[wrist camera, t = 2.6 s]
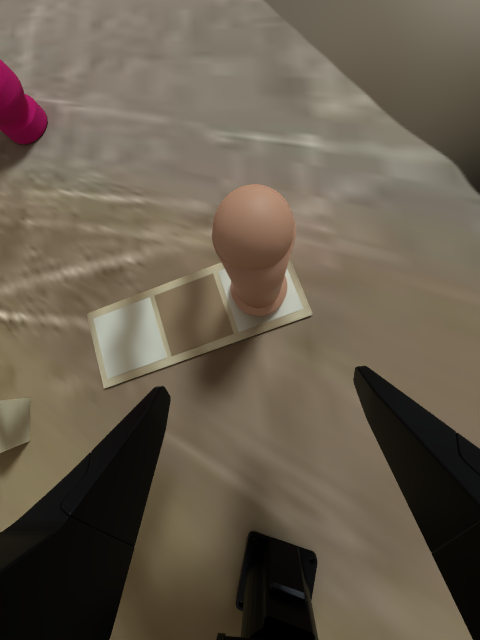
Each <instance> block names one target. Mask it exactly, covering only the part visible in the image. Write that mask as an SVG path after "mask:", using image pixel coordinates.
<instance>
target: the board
mask: <svg viewBox="0 0 480 640" xmlns="http://www.w3.org/2000/svg"><path fill="white" fill-rule="evenodd" d="M285 277H286V280H287V293H286V296H285V299H284V301H283V303H282V304H281V306H280V307H279V308H278V309H277V310H276V311H274V312H273V313H271V314H269V315H265V316H252V315H249V314H246V313H245V312H243V311H242V310H240V309H239V308H238V306H237V305H236V304H235V302H234V300H233V298H232V296H231V290H230V285H231V280H230V278H229V276H228V274H227V272H226V270H225V268H224V266H223V264H222V262H221V263H219V264H216V265H213V266H211V267H208V268H205V269H203V270H200V271H198V272H195V273H192V274H190V275H187V276H185V277H182V278H179V279H177V280H174V281H171V282H169V283H166V284H164V285H161V286H158V287H156V288H153V289H150V290H148V291H145V292H143V293H140V294H137V295H135V296H132V297H130V298H127V299H124V300H122V301H119V302H116V303H114V304H111V305H109V306H106V307H103V308H101V309H98V310H96V311H93V312H90V313H88V314H87V317H88V321H89V325H90V330H91V334H92V338H93V343H94V347H95V351H96V356H97V360H98V364H99V369H100V373H101V377H102V382H103V386H104V389H105V388H108V387H111V386H113V385H116V384H119V383H122V382H125V381H127V380H130V379H133V378H136V377H139V376H142V375H144V374H147V373H150V372H153V371H156V370H158V369H161V368H164V367H167V366H170V365H173V364H175V363H178V362H181V361H184V360H187V359H189V358H192V357H195V356H198V355H201V354H204V353H206V352H209V351H212V350H215V349H218V348H220V347H223V346H226V345H229V344H232V343H235V342H237V341H240V340H243V339H246V338H249V337H251V336H254V335H257V334H260V333H263V332H265V331H268V330H271V329H274V328H277V327H280V326H282V325H285V324H288V323H291V322H294V321H296V320H299V319H302V318H305V317H308V316H311V315H313V314H312V311H311V309H310V306H309V304H308V302H307V299H306V297H305V294H304V292H303V289H302V287H301V285H300V282H299V280H298V277H297V275H296V272H295V270H294V267H293V265H292V263H291V260H290V259H289V262H288V265H287V269H286V272H285Z"/></svg>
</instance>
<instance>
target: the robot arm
mask: <svg viewBox="0 0 480 640" xmlns="http://www.w3.org/2000/svg"><path fill="white" fill-rule="evenodd" d="M353 381H354V385H355V388H356V391H357V394H358V396H359V399H360V402H361V405H362V408H363V410H364V413H365V416H366V418H367V421H368V423H369V425H370V427H371V429H372V431H373V433H374V435H375V437H376V439H377V442H378V444H379V446H380V448H381V450H382V452H383V454H384V456H385V458H386V460H387V462H388V464H389V466H390V468H391V471H392V473H393V475H394V477H395V479H396V481H397V483H398V485H399V487H400V489H401V491H402V493H403V495H404V497H405V499H406V502H407V504H408V506H409V508H410V510H411V512H412V514H413V516H414V518H415V520H416V522H417V524H418V526H419V528H420V531H421V533H422V535H423V537H424V539H425V541H426V543H427V545H428V547H429V549H430V551H431V552H432V556H433V558H434V560H435V562H436V564H437V566H438V568H439V570H440V572H441V574H442V576H443V578H444V581H445V583H446V585H447V587H448V589H449V591H450V593H451V595H452V597H453V599H454V601H455V603H456V605H457V607H458V610H459V612H460V614H461V616H462V618H463V620H464V622H465V624H466V626H467V628H468V630H469V632H470V634H471V636H472V639H473V640H480V449H479V448H478V447H477V446H475V445H474V444H472V443H471V442H470V441H468V440H467V439H465V438H464V437H463V436H461V435H460V434H459V433H456V432H455V431H454V430H453V429H452V428H450V427H449V426H448V425H446V424H445V423H444V422H442V421H441V420H439V419H438V418H437V417H435V416H434V415H433V414H431V413H430V412H428V411H427V410H426V409H424V408H423V407H422V406H420V405H419V404H418V403H416V402H415V401H413V400H412V399H411V398H409V397H408V396H407V395H405V394H404V393H403V392H401V391H400V390H398V389H397V388H396V387H394V386H393V385H392V384H390V383H389V382H388V381H386V380H385V379H383V378H382V377H381V376H379V375H378V374H377V373H375V372H374V371H372V370H371V369H370V368H368V367H367V366H358V367H356V368H355V372H354V379H353ZM169 406H170V395H169V393H168V392H167V390H166V388H165V387H164V386H157V387H155V388H153V389H152V390H151V391H150V392H149V393H148V394H147V395H146V396H145V397H144V398H143V399H142V401H141V402H140V403H139V404H138V405H137V406H136V407H135V408H134V409H133V410H132V411H131V412H130V413H129V414H128V415H127V416H126V417H125V418H124V419H123V420H122V421H121V422H120V423H119V424H118V425H117V426H116V427H115V428H114V429H113V430H112V431H111V432H110V433H109V434H108V435H107V436H106V437H105V438H104V439H103V440H102V441H101V442H100V443H99V444H98V445H97V446H96V447H95V448H94V449H93V450H92V451H91V453H89V454H88V455H87V456H86V457H85V458H84V459H83V460H82V461H81V462H80V463H79V464H78V465H77V466H76V467H75V468H74V469H73V470H72V471H71V472H70V473H69V474H68V475H67V476H66V477H65V478H63V479H62V480H61V481H60V482H59V483H58V484H57V485H56V486H55V487H54V488H53V489H52V490H50V491H49V492H48V493H47V494H46V495H45V496H44V497H43V498H42V499H41V500H39V501H38V502H37V503H36V504H35V505H34V506H33V507H32V508H31V509H30V510H28V511H27V512H26V513H25V514H24V515H23V516H22V517H21V518H19V519H18V520H17V521H16V522H15V523H13V524H12V525H11V526H9V527H8V528H7V529H5V530H4V531H2V532H0V640H109V639H110V636H111V633H112V629H113V626H114V622H115V618H116V614H117V611H118V607H119V603H120V599H121V596H122V592H123V588H124V585H125V581H126V577H127V573H128V570H129V566H130V562H131V558H132V555H133V551H134V546H135V543H136V539H137V535H138V532H139V528H140V524H141V521H142V517H143V513H144V509H145V506H146V502H147V498H148V494H149V491H150V487H151V483H152V479H153V476H154V472H155V468H156V464H157V461H158V457H159V453H160V450H161V446H162V442H163V438H164V434H165V430H166V425H167V419H168V412H169ZM251 538H255V540H252V539H251ZM310 558H313V559H312V560H310ZM316 568H317V557H316V554H315V553H314V552H313V551H310V550H307V549H304V548H302V547H299V546H296V545H293V544H290V543H287V542H284V541H281V540H278V539H275V538H272V537H269V536H266V535H263V534H260V533H257V532H254V531H252V532H250V533H249V536H248V541H247V546H246V551H245V556H244V561H243V567H242V572H241V577H240V582H239V587H238V592H237V598H236V607H237V608H238V609H239V610H240V611H243V618H242V631H241V637H231V636H226V634H224V633H218V635H217V639H216V640H318V635H317V630H316V624H315V619H314V614H313V608H312V603H311V599H312V593H313V587H314V581H315V574H316ZM240 601H242V602H240Z"/></svg>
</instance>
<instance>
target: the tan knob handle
mask: <svg viewBox="0 0 480 640" xmlns="http://www.w3.org/2000/svg"><path fill="white" fill-rule="evenodd" d="M295 237H296V225H295V220H294V217H293V214H292V211H291V209H290V206H289V204H288V203H287V201H286V200H285V199H284V198H283V197H282V195H281V194H279V193H278V192H277V191H275V190H274V189H272V188H270V187H267V186H264V185H258V184H252V185H245V186H242V187H239V188H237V189H235V190H234V191H232V192H231V193H230V194H228V195H227V196H226V197H225V198H224V200H223V201H222V202H221V204H220V205H219V207H218V209H217V211H216V214H215V217H214V222H213V230H212V240H213V245H214V248H215V250H216V252H217V254H218V256H219V258H220V260H221V262H222V264H223V266H224V268H225V270H226V272H227V274H228V276H229V278H230V280H231V285H230V290H231V296H232V298H233V300H234V302H235V304H236V305H237V306H238V308H239V309H240V310H242V311H243V312H245V313H246V314H249V315H252V316H265V315H269V314H271V313H273V312H274V311H276V310H277V309H278V308H279V307H280V306H281V304H282V303H283V301H284V299H285V296H286V293H287V280H286V277H285V272H286V269H287V265H288V262H289V259H290V255H291V252H292V248H293V245H294V241H295Z"/></svg>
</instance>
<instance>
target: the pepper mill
mask: <svg viewBox="0 0 480 640" xmlns="http://www.w3.org/2000/svg"><path fill="white" fill-rule="evenodd" d="M46 126H47V116H46V113H45V112H44V110H43V109H42V108H41V107H40V106H39V105H38V104H37V103H36V102H35V101H34V99H33V98H31V97H30V96H28V95H26V94H24V91H23V87H22V85H21V83H20V81H19V79H18V77H17V76H16V75H15V74H14V72H13V71H12V70H11V69H10V68H9V67H8V66H7V65H6V64H5V63H4V62H3V61H2V60H0V130H1V131H2V132H3V133H4V134H5V135H7V136H8V137H9V138H10V139H12V140H13V141H14V142H16V143H19V144H29V143H32V142H34V141H36V140H37V139H38V138H39V137H40V136H41V135H42V134H43V132H44V131H45V129H46Z"/></svg>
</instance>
